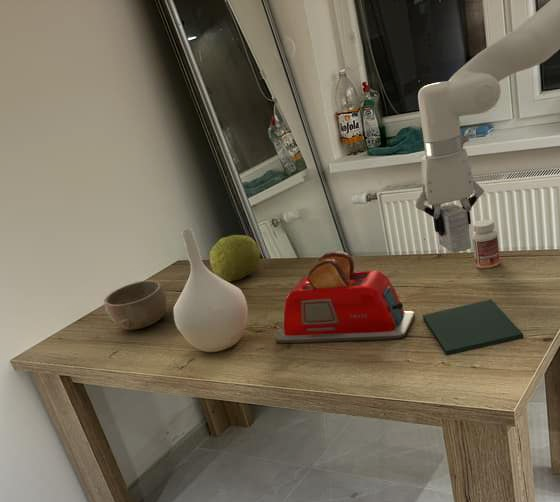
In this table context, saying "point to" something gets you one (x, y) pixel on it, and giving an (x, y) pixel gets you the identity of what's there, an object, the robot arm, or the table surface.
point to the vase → (209, 306)
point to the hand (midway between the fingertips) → (453, 230)
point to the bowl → (136, 304)
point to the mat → (471, 327)
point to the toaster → (343, 305)
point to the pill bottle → (485, 244)
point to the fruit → (234, 257)
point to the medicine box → (454, 228)
